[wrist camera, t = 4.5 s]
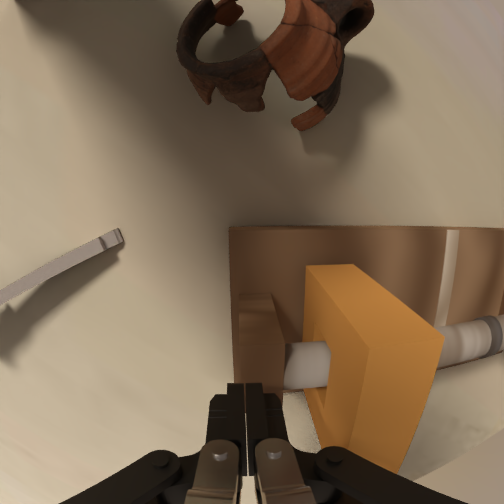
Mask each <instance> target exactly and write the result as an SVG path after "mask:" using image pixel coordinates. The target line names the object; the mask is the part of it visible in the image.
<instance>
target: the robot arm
mask: <svg viewBox="0 0 504 504" xmlns="http://www.w3.org/2000/svg"><path fill="white" fill-rule="evenodd" d="M245 390H246V422H245V397H244V383H227V394H215V396H214V397H213V398H212V400H211V401H210V406H209V416H208V425H207V435H206V443H205V445H204V446H203V447H202V448H201V450H200V451H199V452H197V453H195V454H193V455H189V456H184V457H178V456H177V455H176V454H174V453H173V452H170V451H167V450H156V451H152V452H150V453H148V454H147V455H145V456H143V457H142V458H140V459H139V460H137V461H135V462H134V463H132V464H130V465H129V466H127V467H125V468H124V469H122V470H120V471H119V472H117V473H115V474H113V475H112V476H110V477H108V478H107V479H105V480H103V481H101V482H99V483H98V484H96V485H94V486H92V487H90V488H88V489H87V490H85V491H83V492H81V493H79V494H77V495H75V496H73V497H71V498H69V499H67V500H65V501H63V502H61V503H59V504H240V501H241V489H242V485H243V483H242V476H247V448H246V426H247V447H248V467H249V476H254V480H255V495H256V501H257V504H468V503H465V502H462V501H460V500H457V499H454V498H451V497H449V496H446V495H444V494H441V493H439V492H436V491H434V490H431V489H429V488H427V487H424V486H422V485H419V484H417V483H415V482H413V481H410V480H408V479H406V478H404V477H401V476H399V475H397V474H395V473H393V472H391V471H389V470H387V469H385V468H382V467H380V466H378V465H376V464H374V463H372V462H370V461H368V460H366V459H364V458H363V457H361V456H359V455H357V454H355V453H353V452H351V451H349V450H347V449H345V448H343V447H339V446H329V447H325V448H323V449H321V450H320V451H319V452H318V453H317V454H315V453H308V452H303V451H300V450H297V449H296V448H294V447H293V446H292V445H291V444H290V442H289V440H288V435H287V430H286V425H285V420H284V416H283V410H282V405H281V400H280V399H279V398H278V396H277V395H276V394H275V393H263V387H262V382H261V383H245Z"/></svg>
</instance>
